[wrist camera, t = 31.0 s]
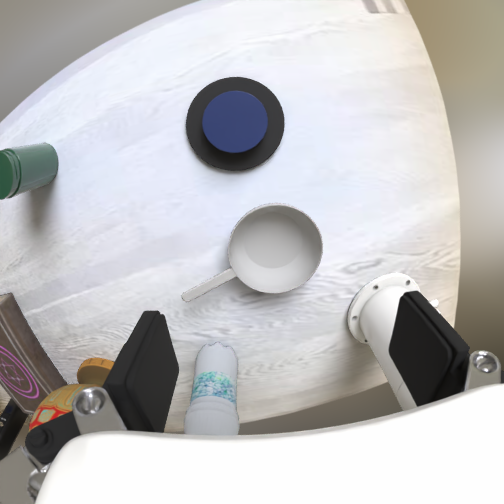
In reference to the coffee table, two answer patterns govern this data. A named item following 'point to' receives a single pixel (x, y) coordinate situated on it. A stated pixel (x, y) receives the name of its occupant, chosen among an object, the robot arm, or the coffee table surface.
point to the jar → (26, 168)
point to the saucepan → (269, 251)
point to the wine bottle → (10, 426)
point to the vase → (71, 391)
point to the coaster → (242, 158)
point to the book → (24, 360)
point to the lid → (235, 121)
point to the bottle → (213, 393)
